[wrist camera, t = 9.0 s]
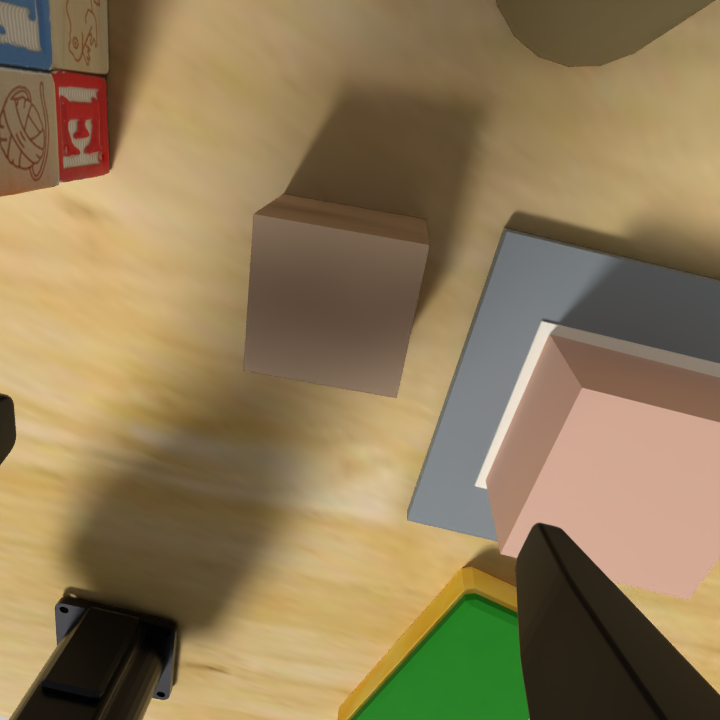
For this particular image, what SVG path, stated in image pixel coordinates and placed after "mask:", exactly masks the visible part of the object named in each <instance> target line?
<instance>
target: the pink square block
mask: <svg viewBox="0 0 720 720" xmlns="http://www.w3.org/2000/svg"><path fill="white" fill-rule="evenodd" d="M486 485H487V490H488V495H489V500H490V505H491V510H492V515H493V520H494V525H495V530H496V535H497V540H498V545H499V550H500V554H502V555H506V556H510V557H515V558H517V557H518V554H519V552H520V550H521V548H522V546H523V544H524V542H525V540H526V538H527V536H528V534H529V532H530V530H531V528H532V527H533V525H534V524H536V523H539V522H540V523H545V524H549V525H553V526H557V527H560V528H561V529H562V530H564V531H565V532H566V534H567V535H568V536H569V537H570V538H571V539H572V540H573V541H574V542H575V543H576V544H577V545H578V546H579V547H580V548H581V549H582V550H583V551H584V552H585V554H586V555H587V556H588V557H589V558H590V559H591V560H592V561H593V562H594V563H595V564H596V565H597V566H598V567H599V568H600V569H601V570H602V571H603V572H604V574H605V575H606V576H607V577H608V578H609V579H610V580H611V581H613V582H617V583H621V584H625V585H629V586H633V587H637V588H641V589H645V590H650V591H654V592H658V593H662V594H666V595H670V596H674V597H678V598H682V599H686V600H688V599H689V598H690V597H691V595H692V594H693V593H694V591H695V590H696V589H697V588H698V586H699V585H700V584H701V582H702V581H703V580H704V578H705V577H706V576H707V574H708V573H709V572H710V570H711V569H712V568H713V566H714V565H715V564H716V562H717V561H718V560H719V558H720V378H719V377H715V376H712V375H708V374H704V373H700V372H696V371H692V370H688V369H684V368H680V367H676V366H672V365H669V364H665V363H661V362H657V361H653V360H649V359H645V358H641V357H637V356H633V355H629V354H625V353H622V352H618V351H614V350H610V349H606V348H602V347H598V346H594V345H590V344H586V343H582V342H579V341H575V340H571V339H567V338H563V337H559V336H555V335H551V334H549V336H548V338H547V340H546V343H545V345H544V347H543V350H542V352H541V354H540V356H539V359H538V361H537V363H536V366H535V368H534V370H533V372H532V375H531V377H530V379H529V382H528V384H527V386H526V389H525V391H524V393H523V395H522V398H521V400H520V402H519V405H518V407H517V409H516V411H515V414H514V416H513V418H512V421H511V423H510V425H509V427H508V430H507V432H506V434H505V437H504V439H503V441H502V444H501V446H500V448H499V450H498V453H497V455H496V457H495V460H494V462H493V464H492V466H491V469H490V471H489V473H488V476H487V478H486Z"/></svg>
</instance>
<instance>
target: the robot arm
mask: <svg viewBox="0 0 720 720" xmlns="http://www.w3.org/2000/svg"><path fill="white" fill-rule="evenodd" d="M15 440H16V426H15V414H14V403H13V400H12V398H11V397H9V396H8V395H5V394H1V393H0V465H1V463H2V462H3V461H4V459H5V458H6V457H7V455H8V454H9V453H10V451H11V450H12V448H13V446H14V444H15ZM515 572H516V592H517V611H518V631H519V648H520V659H521V667H522V674H523V680H524V686H525V693H526V699H527V705H528V711H529V718H530V720H720V695H719V694H718V693H717V691H716V690H715V689H714V688H713V687H712V686H711V685H710V684H709V683H708V682H707V681H706V680H705V679H704V678H703V677H702V676H701V675H700V674H699V672H698V671H697V670H696V669H695V668H694V667H693V666H692V665H691V664H690V663H689V662H688V661H687V660H686V659H685V658H684V657H683V656H682V655H681V654H680V652H679V651H678V650H677V649H676V648H675V647H674V646H673V645H672V644H671V643H670V642H669V641H668V640H667V639H666V638H665V637H664V636H663V635H662V634H661V632H660V631H659V630H658V629H657V628H656V627H655V626H654V625H653V624H652V623H651V622H650V621H649V620H648V619H647V618H646V617H645V616H644V615H643V614H642V612H641V611H640V610H639V609H638V608H637V607H636V606H635V605H634V604H633V603H632V602H631V601H630V600H629V599H628V598H627V597H626V596H625V595H624V594H623V592H622V591H621V590H620V589H619V588H618V587H617V586H616V585H615V584H614V583H613V582H612V581H611V580H610V579H609V578H608V577H607V576H606V575H605V574H604V572H603V571H602V570H601V569H600V568H599V567H598V566H597V565H596V564H595V563H594V562H593V561H592V560H591V559H590V558H589V557H588V556H587V555H586V554H585V552H584V551H583V550H582V549H581V548H580V547H579V546H578V545H577V544H576V543H575V542H574V541H573V540H572V539H571V538H570V537H569V536H568V535H567V534H566V532H565V531H564V530H562V529H561V528H560V527H557V526H553V525H549V524H545V523H540V522H539V523H536V524H534V525H533V527H532V528H531V530H530V532H529V534H528V536H527V538H526V540H525V542H524V544H523V546H522V548H521V550H520V552H519V554H518V557H517V560H516V567H515ZM55 619H56V635H57V647H56V649H55V650H54V652H53V653H52V655H51V656H50V658H49V659H48V661H47V662H46V664H45V665H44V667H43V668H42V670H41V672H40V673H39V675H38V676H37V678H36V679H35V681H34V682H33V684H32V685H31V687H30V688H29V690H28V691H27V693H26V694H25V696H24V697H23V699H22V701H21V702H20V704H19V705H18V707H17V708H16V710H15V711H14V713H13V714H12V716H11V717H10V719H9V720H142V719H143V717H144V715H145V713H146V710H147V708H148V706H149V703H150V701H151V699H152V698H156V699H161V700H166V699H168V698H169V696H170V693H171V691H172V686H173V675H174V665H175V655H176V645H177V635H178V626H177V624H176V623H174V622H173V621H170V620H166V619H162V618H157V617H153V616H148V615H144V614H140V613H135V612H131V611H126V610H122V609H118V608H113V607H109V606H104V605H100V604H95V603H91V602H87V601H82V600H78V599H73V598H69V597H63V598H61V599H60V600H59V601H58V603H57V604H56V606H55Z"/></svg>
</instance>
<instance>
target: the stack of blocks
mask: <svg viewBox="0 0 720 720" xmlns="http://www.w3.org/2000/svg"><path fill="white" fill-rule="evenodd" d="M108 70H109V57H108V14H107V0H0V197H1V196H7V195H14V194H19V193H23V192H28V191H33V190H38V189H44V188H50V187H54V186H57V185H59V182H70V181H73V180H82V179H86V178H92V177H97V176H101V175H105V174H107V173H109V169H110V163H109V142H108V118H107V97H106V88H107V84H106V81H105V75H106V74H107V73H108Z"/></svg>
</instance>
